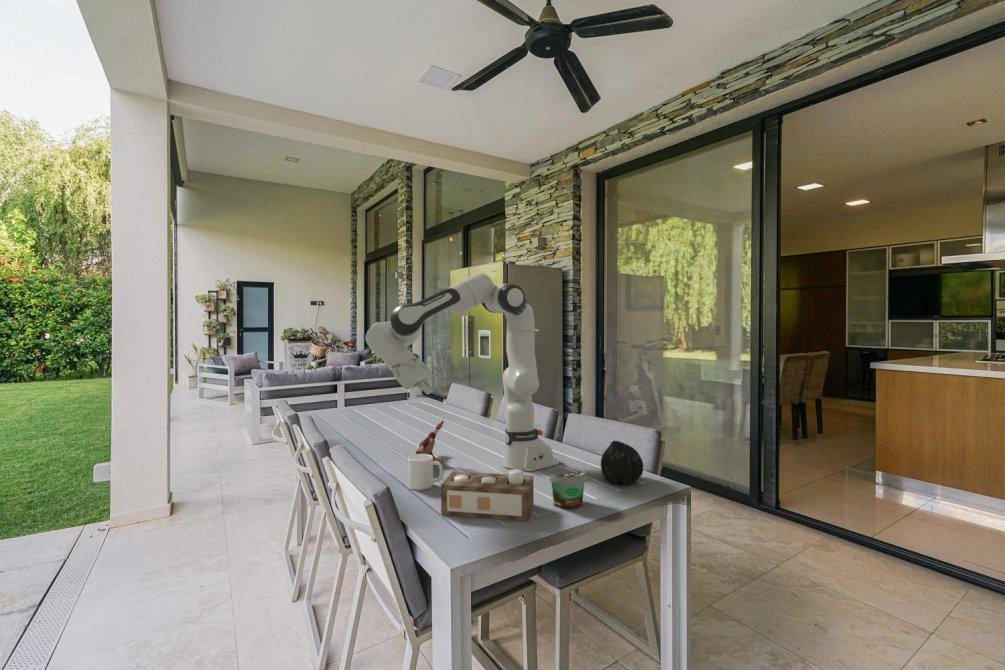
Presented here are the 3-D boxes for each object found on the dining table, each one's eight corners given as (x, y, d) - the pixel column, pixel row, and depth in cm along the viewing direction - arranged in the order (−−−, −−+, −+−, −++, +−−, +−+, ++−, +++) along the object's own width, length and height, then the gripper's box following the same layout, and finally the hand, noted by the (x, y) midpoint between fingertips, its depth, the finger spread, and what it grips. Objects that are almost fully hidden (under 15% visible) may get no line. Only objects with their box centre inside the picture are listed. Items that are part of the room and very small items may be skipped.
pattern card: (446, 511, 135) (446, 491, 134) (447, 510, 135) (447, 490, 135) (521, 516, 131) (521, 495, 130) (521, 515, 131) (521, 494, 131)
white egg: (452, 495, 139) (452, 479, 139) (456, 490, 143) (456, 474, 143) (466, 496, 138) (466, 480, 138) (470, 491, 142) (469, 475, 142)
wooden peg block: (441, 514, 136) (440, 484, 135) (452, 498, 148) (452, 471, 147) (528, 521, 131) (528, 490, 131) (533, 504, 143) (533, 475, 143)
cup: (413, 481, 164) (412, 453, 163) (446, 482, 162) (445, 454, 162) (405, 490, 156) (405, 460, 155) (440, 491, 154) (439, 461, 154)
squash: (658, 468, 159) (634, 431, 166) (631, 479, 150) (606, 439, 157) (633, 486, 168) (611, 450, 175) (606, 497, 159) (584, 459, 166)
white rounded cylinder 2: (507, 490, 136) (507, 473, 136) (510, 485, 140) (510, 469, 140) (522, 491, 135) (522, 474, 135) (524, 486, 139) (524, 469, 139)
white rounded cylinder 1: (479, 497, 137) (479, 481, 137) (483, 492, 142) (482, 476, 142) (494, 498, 137) (494, 481, 136) (497, 493, 141) (496, 476, 141)
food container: (559, 513, 136) (559, 480, 135) (549, 506, 141) (549, 474, 141) (594, 506, 141) (594, 474, 140) (583, 499, 146) (583, 468, 146)
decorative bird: (453, 465, 170) (437, 428, 170) (408, 484, 171) (392, 447, 170) (462, 444, 198) (448, 412, 198) (423, 460, 199) (409, 429, 198)
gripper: (395, 359, 144) (426, 390, 142) (419, 354, 164) (446, 381, 162) (382, 373, 145) (412, 404, 143) (407, 366, 165) (434, 394, 163)
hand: (430, 392), depth 153 cm, fingers closed
